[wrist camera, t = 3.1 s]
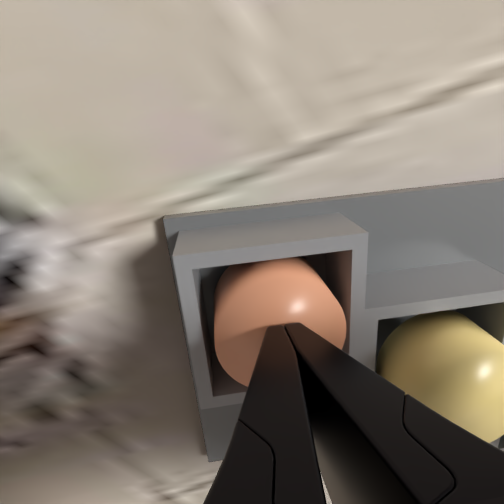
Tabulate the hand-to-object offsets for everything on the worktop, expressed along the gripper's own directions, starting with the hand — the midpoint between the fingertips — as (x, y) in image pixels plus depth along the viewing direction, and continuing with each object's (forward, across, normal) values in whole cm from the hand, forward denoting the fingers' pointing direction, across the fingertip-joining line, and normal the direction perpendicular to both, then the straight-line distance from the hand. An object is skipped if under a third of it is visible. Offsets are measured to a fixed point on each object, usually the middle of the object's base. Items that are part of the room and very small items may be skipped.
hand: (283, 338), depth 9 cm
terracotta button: (+2, 0, 0) cm, 2 cm away
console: (+3, -5, +2) cm, 6 cm away
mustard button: (+1, -5, +2) cm, 5 cm away
